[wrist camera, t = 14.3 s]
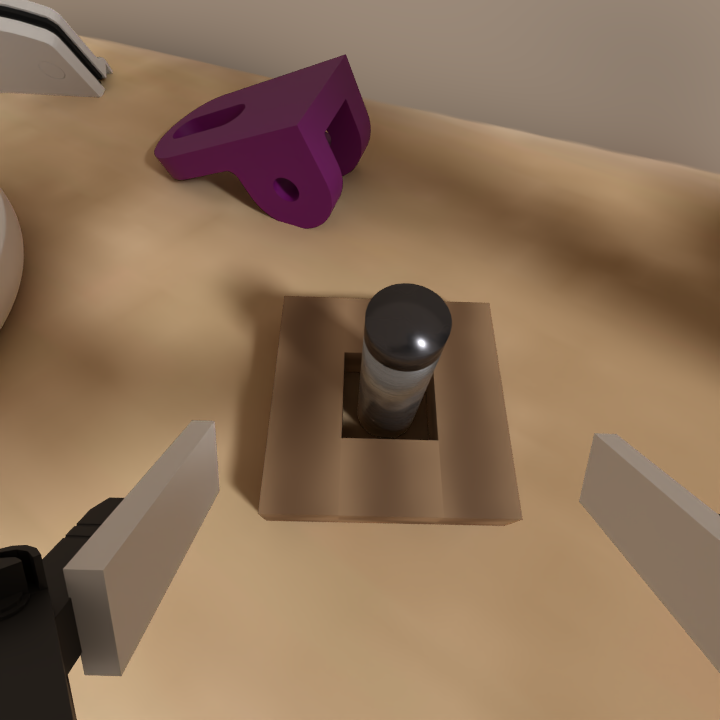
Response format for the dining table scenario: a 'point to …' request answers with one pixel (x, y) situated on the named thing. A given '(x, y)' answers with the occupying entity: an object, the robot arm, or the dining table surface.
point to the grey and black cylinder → (399, 356)
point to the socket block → (386, 456)
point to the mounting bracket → (278, 140)
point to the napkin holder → (45, 54)
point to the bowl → (9, 256)
